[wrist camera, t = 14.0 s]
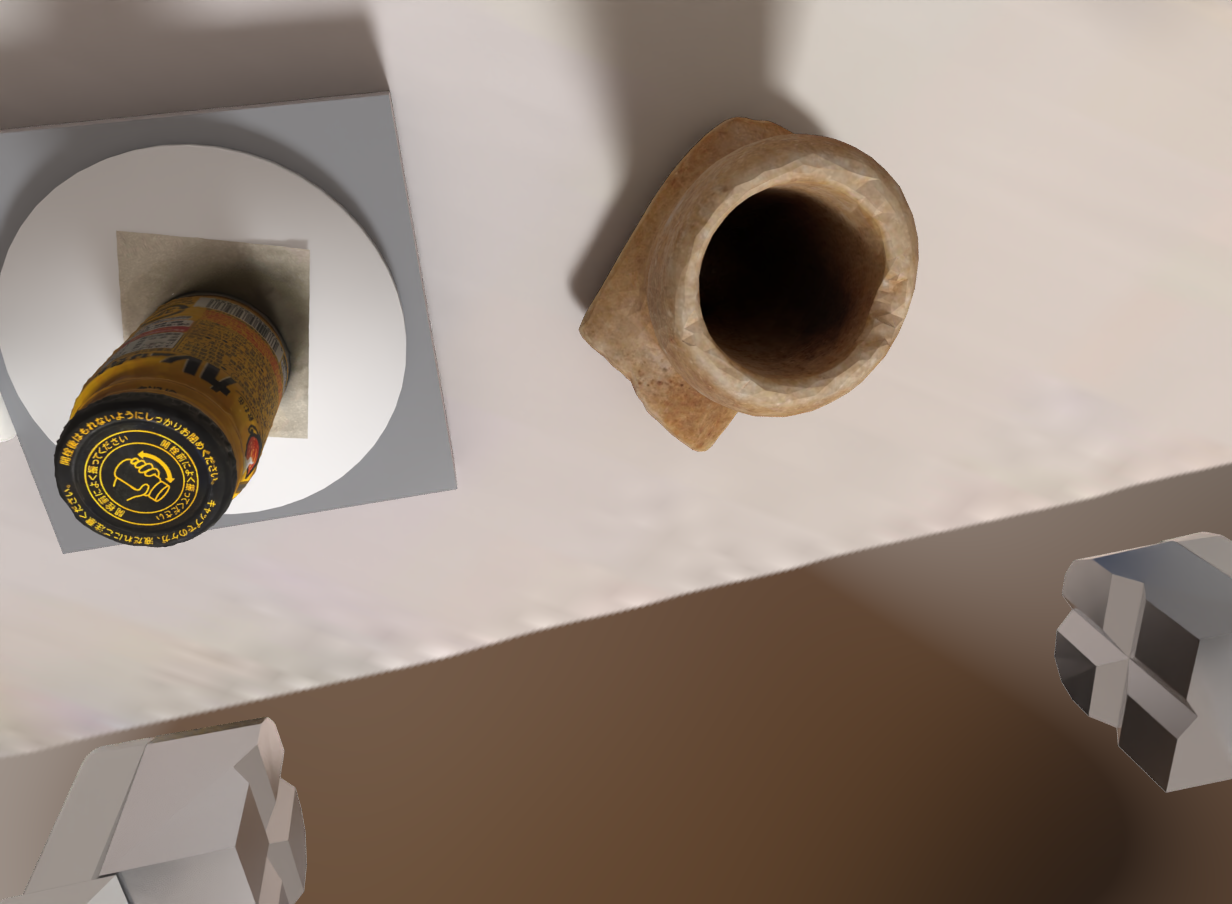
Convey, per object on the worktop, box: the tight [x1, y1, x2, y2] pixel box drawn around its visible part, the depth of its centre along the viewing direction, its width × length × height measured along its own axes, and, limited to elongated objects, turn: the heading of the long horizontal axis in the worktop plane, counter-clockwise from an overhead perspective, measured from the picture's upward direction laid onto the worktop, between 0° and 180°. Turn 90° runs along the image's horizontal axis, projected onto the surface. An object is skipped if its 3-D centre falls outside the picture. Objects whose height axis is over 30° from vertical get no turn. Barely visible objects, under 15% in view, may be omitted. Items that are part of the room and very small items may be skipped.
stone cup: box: [579, 117, 919, 452], centre depth 40 cm, size 15×12×15 cm
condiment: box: [54, 231, 310, 547], centre depth 34 cm, size 7×8×12 cm
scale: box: [0, 91, 457, 554], centre depth 40 cm, size 18×19×6 cm
